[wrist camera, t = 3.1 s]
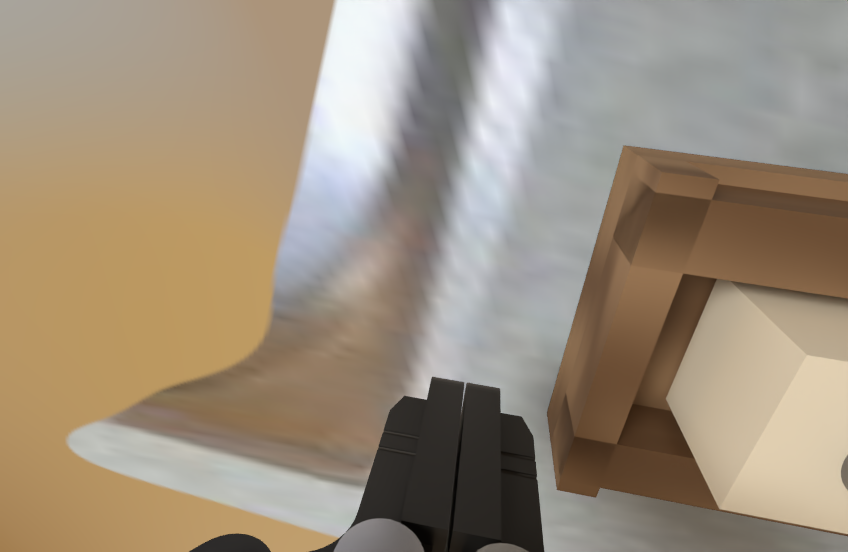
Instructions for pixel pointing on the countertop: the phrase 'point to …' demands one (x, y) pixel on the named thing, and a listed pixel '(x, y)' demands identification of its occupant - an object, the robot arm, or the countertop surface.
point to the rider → (769, 403)
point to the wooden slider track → (678, 305)
